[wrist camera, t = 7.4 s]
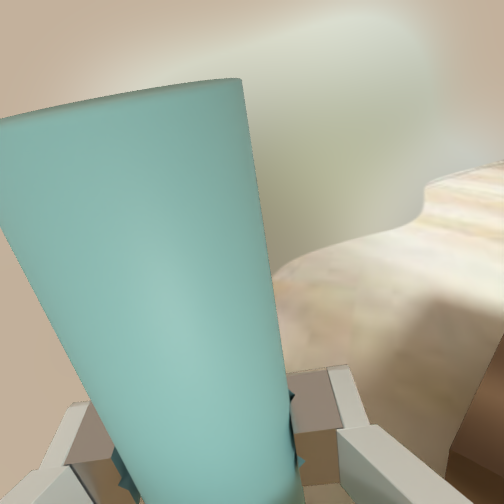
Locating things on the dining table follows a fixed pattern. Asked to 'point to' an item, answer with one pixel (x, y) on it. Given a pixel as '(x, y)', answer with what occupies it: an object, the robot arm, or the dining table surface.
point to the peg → (159, 283)
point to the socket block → (481, 440)
